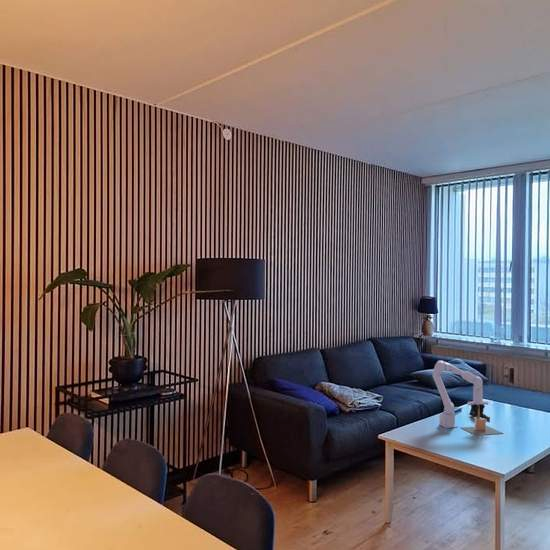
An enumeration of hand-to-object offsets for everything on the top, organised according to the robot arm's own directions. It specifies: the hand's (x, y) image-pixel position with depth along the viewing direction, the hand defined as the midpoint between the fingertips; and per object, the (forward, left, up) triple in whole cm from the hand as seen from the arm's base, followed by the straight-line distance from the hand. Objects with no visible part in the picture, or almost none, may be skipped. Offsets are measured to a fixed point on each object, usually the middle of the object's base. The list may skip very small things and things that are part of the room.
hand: (477, 415), depth 323 cm
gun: (+17, +22, -9) cm, 29 cm away
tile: (0, -2, -8) cm, 9 cm away
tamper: (0, 0, -3) cm, 3 cm away
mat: (0, -4, -9) cm, 10 cm away
